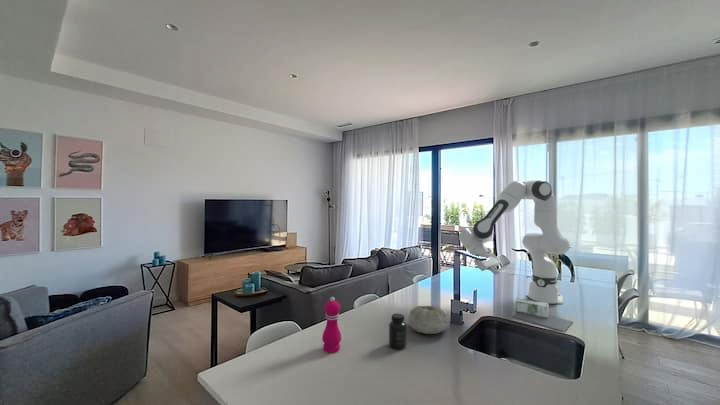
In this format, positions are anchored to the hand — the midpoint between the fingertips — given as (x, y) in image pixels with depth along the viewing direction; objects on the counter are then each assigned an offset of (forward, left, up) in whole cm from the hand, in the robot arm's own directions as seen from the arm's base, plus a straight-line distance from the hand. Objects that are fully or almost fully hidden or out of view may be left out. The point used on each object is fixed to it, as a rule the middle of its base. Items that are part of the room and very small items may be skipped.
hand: (497, 274), depth 159 cm
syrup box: (-2, +9, -15) cm, 17 cm away
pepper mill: (+95, -24, -18) cm, 100 cm away
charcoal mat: (0, +22, -18) cm, 28 cm away
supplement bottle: (+74, -9, -18) cm, 77 cm away
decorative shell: (+52, -9, -19) cm, 56 cm away
